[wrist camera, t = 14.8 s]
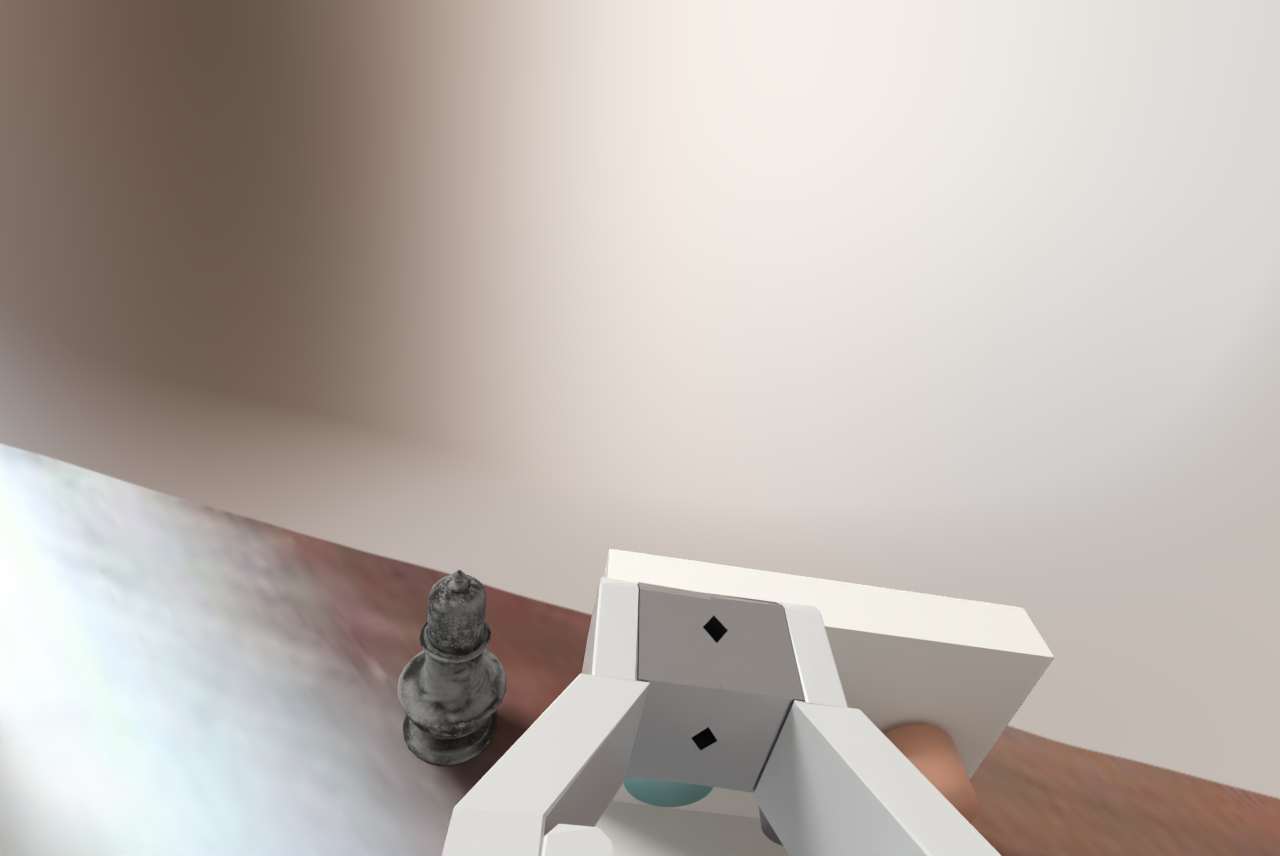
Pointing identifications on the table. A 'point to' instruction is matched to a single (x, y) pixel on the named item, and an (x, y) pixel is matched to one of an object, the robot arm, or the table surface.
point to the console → (848, 685)
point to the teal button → (665, 792)
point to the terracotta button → (938, 764)
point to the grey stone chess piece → (452, 677)
